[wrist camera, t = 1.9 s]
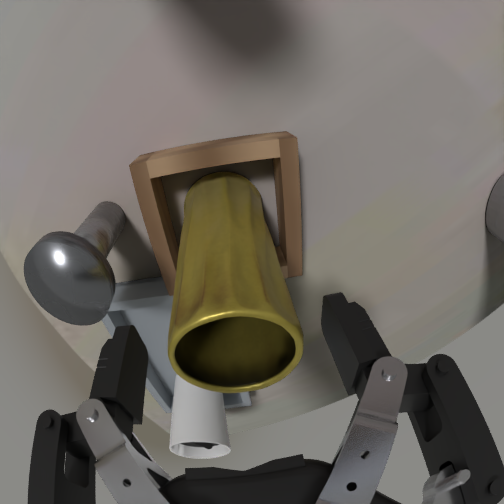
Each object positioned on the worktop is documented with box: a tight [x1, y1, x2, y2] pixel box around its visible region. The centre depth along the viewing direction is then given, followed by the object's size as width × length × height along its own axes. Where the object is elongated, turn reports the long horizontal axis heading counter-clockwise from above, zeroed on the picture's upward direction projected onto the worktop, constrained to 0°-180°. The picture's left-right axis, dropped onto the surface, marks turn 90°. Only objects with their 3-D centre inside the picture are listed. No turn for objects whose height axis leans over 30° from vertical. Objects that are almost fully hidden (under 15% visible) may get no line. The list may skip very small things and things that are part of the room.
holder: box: [129, 131, 302, 296], centre depth 21 cm, size 11×11×3 cm
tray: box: [102, 277, 252, 413], centre depth 29 cm, size 12×21×3 cm, turn 6°
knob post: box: [24, 201, 125, 325], centre depth 17 cm, size 6×6×9 cm
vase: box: [168, 172, 303, 393], centre depth 16 cm, size 6×6×14 cm
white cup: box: [169, 374, 231, 459], centre depth 29 cm, size 7×7×10 cm
